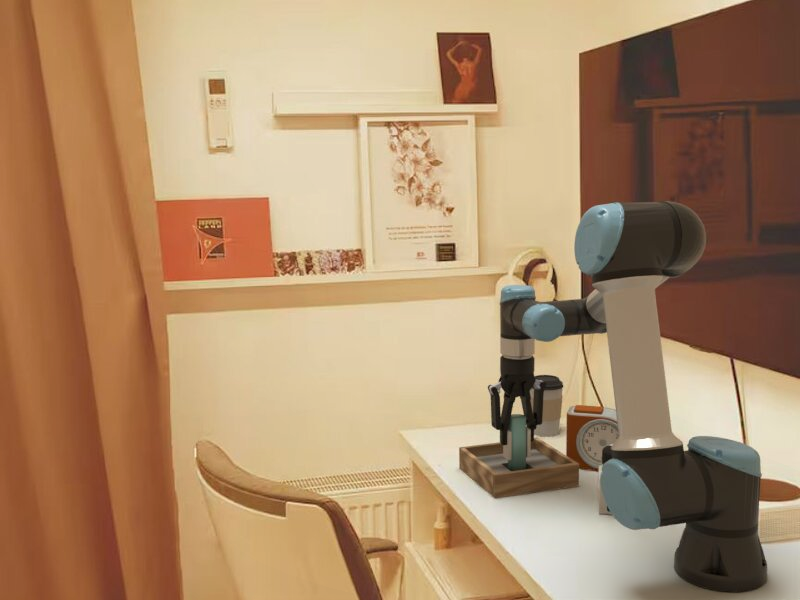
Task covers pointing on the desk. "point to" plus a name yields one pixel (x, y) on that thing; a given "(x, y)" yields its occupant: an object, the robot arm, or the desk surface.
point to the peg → (518, 442)
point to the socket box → (540, 474)
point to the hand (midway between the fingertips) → (516, 456)
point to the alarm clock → (590, 434)
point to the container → (601, 501)
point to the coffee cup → (549, 406)
